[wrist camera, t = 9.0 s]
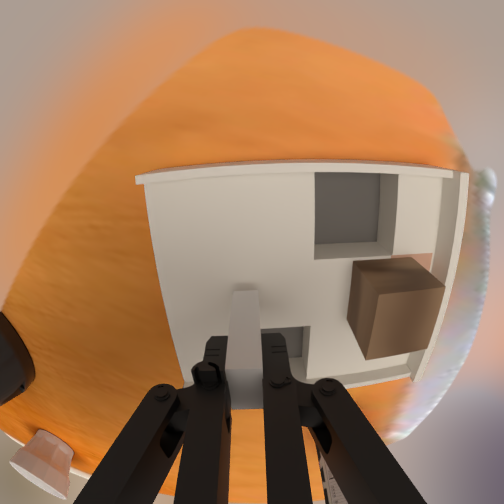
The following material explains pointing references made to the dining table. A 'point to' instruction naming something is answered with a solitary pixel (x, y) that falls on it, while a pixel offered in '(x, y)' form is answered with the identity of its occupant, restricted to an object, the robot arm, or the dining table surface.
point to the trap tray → (298, 251)
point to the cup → (45, 463)
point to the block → (393, 306)
